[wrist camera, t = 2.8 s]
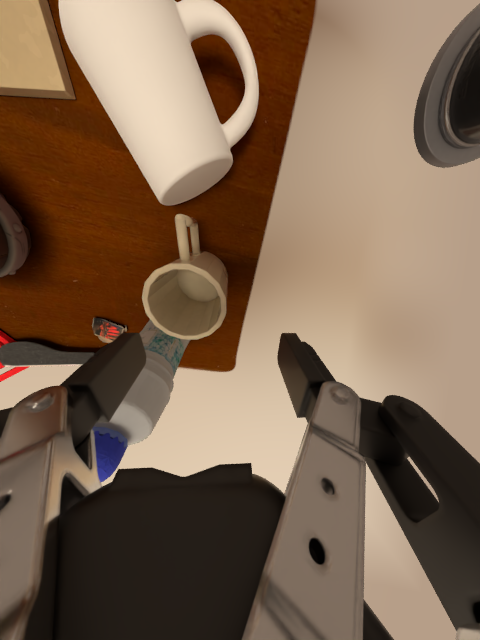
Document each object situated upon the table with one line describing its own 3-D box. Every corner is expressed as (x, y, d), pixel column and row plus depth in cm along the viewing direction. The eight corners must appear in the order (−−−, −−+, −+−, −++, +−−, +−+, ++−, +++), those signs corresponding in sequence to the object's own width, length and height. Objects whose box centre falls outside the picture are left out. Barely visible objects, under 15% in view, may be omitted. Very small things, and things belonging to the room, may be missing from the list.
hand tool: (-29, 347, 25) (140, 344, 26) (-4, 337, 28) (149, 334, 29) (-6, 375, 28) (148, 372, 28) (16, 363, 30) (156, 360, 31)
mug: (175, 210, 21) (145, 199, 14) (112, 98, 16) (20, -2, 9) (266, 154, 19) (287, 107, 12) (222, 9, 14) (213, -208, 7)
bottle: (175, 294, 26) (48, 437, 8) (205, 325, 28) (159, 483, 11) (145, 318, 27) (-15, 480, 10) (176, 345, 30) (95, 510, 12)
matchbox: (91, 316, 26) (89, 317, 26) (126, 322, 27) (125, 323, 27) (95, 340, 29) (93, 341, 28) (128, 345, 29) (126, 347, 29)
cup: (228, 303, 27) (226, 339, 18) (179, 302, 26) (152, 339, 17) (227, 220, 21) (224, 212, 13) (166, 218, 21) (118, 209, 12)
